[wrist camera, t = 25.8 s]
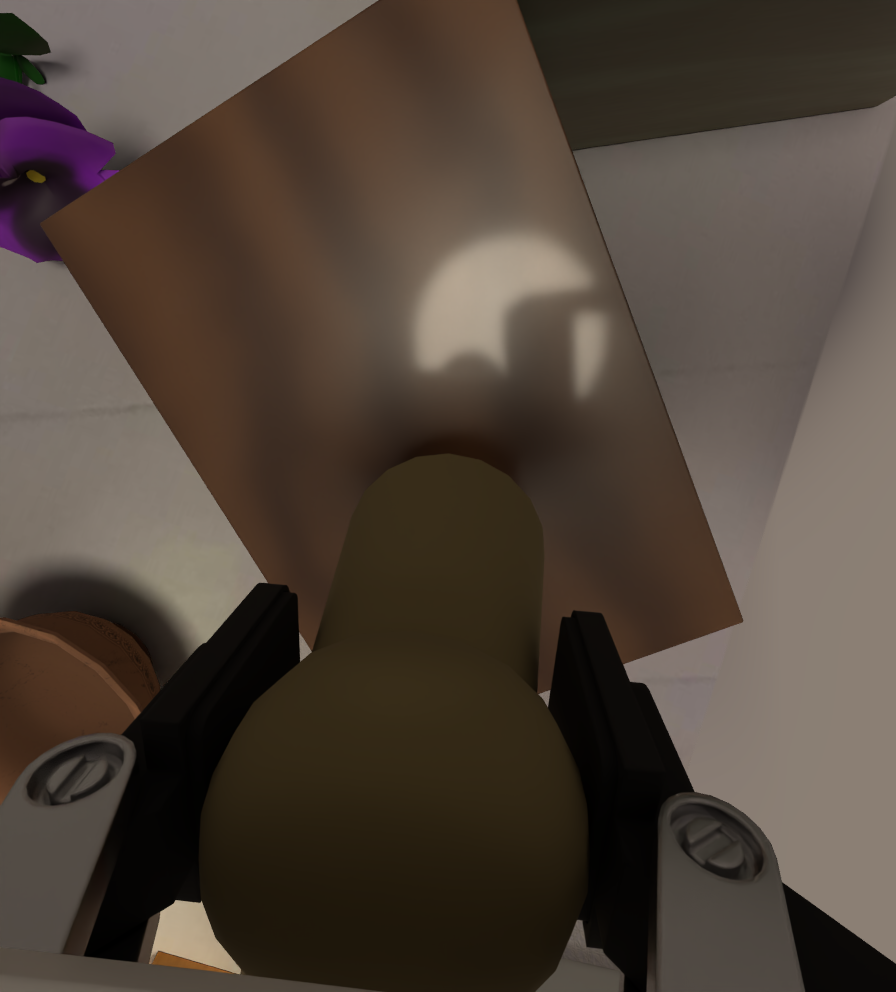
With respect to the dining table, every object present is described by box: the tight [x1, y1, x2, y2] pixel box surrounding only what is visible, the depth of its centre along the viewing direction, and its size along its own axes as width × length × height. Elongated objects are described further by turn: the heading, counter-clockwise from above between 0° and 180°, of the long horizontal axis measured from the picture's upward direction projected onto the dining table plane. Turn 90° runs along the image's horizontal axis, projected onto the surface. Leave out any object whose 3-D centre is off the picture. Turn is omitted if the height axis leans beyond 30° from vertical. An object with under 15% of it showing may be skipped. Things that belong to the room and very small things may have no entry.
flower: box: [0, 13, 120, 263], centre depth 35 cm, size 15×15×14 cm
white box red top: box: [536, 920, 620, 992], centre depth 45 cm, size 17×18×27 cm
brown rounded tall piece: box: [198, 453, 590, 992], centre depth 11 cm, size 6×6×11 cm
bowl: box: [0, 611, 160, 805], centre depth 49 cm, size 22×22×11 cm
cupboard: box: [40, 0, 743, 694], centre depth 32 cm, size 18×26×24 cm
